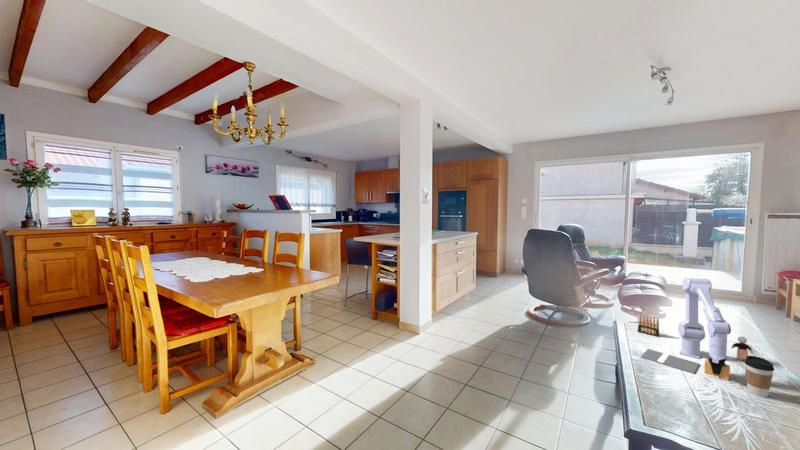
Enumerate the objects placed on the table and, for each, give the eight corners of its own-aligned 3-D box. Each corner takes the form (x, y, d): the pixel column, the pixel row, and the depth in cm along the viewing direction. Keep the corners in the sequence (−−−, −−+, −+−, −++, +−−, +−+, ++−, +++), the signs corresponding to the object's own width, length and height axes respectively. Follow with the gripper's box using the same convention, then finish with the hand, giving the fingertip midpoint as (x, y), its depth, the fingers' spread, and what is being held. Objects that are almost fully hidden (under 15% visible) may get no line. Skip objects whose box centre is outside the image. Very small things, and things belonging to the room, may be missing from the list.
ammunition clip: (659, 336, 188) (659, 318, 188) (658, 337, 187) (659, 318, 186) (638, 331, 197) (638, 313, 196) (637, 331, 195) (638, 314, 195)
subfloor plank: (648, 349, 171) (648, 348, 171) (699, 364, 154) (699, 363, 154) (640, 357, 162) (640, 356, 162) (694, 374, 146) (694, 372, 146)
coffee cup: (762, 389, 133) (764, 356, 132) (779, 400, 125) (780, 366, 124) (737, 385, 136) (739, 354, 135) (752, 396, 128) (754, 363, 127)
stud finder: (705, 370, 149) (706, 358, 148) (729, 377, 142) (730, 365, 142) (704, 373, 146) (704, 361, 146) (728, 380, 140) (729, 367, 140)
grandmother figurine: (750, 360, 157) (751, 337, 157) (753, 363, 154) (754, 339, 154) (729, 356, 162) (730, 333, 161) (732, 359, 159) (733, 336, 158)
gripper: (728, 353, 136) (727, 381, 137) (732, 344, 145) (730, 370, 145) (706, 347, 142) (705, 374, 142) (711, 339, 150) (710, 365, 151)
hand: (716, 372), depth 144 cm, fingers closed on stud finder, 4 cm apart
